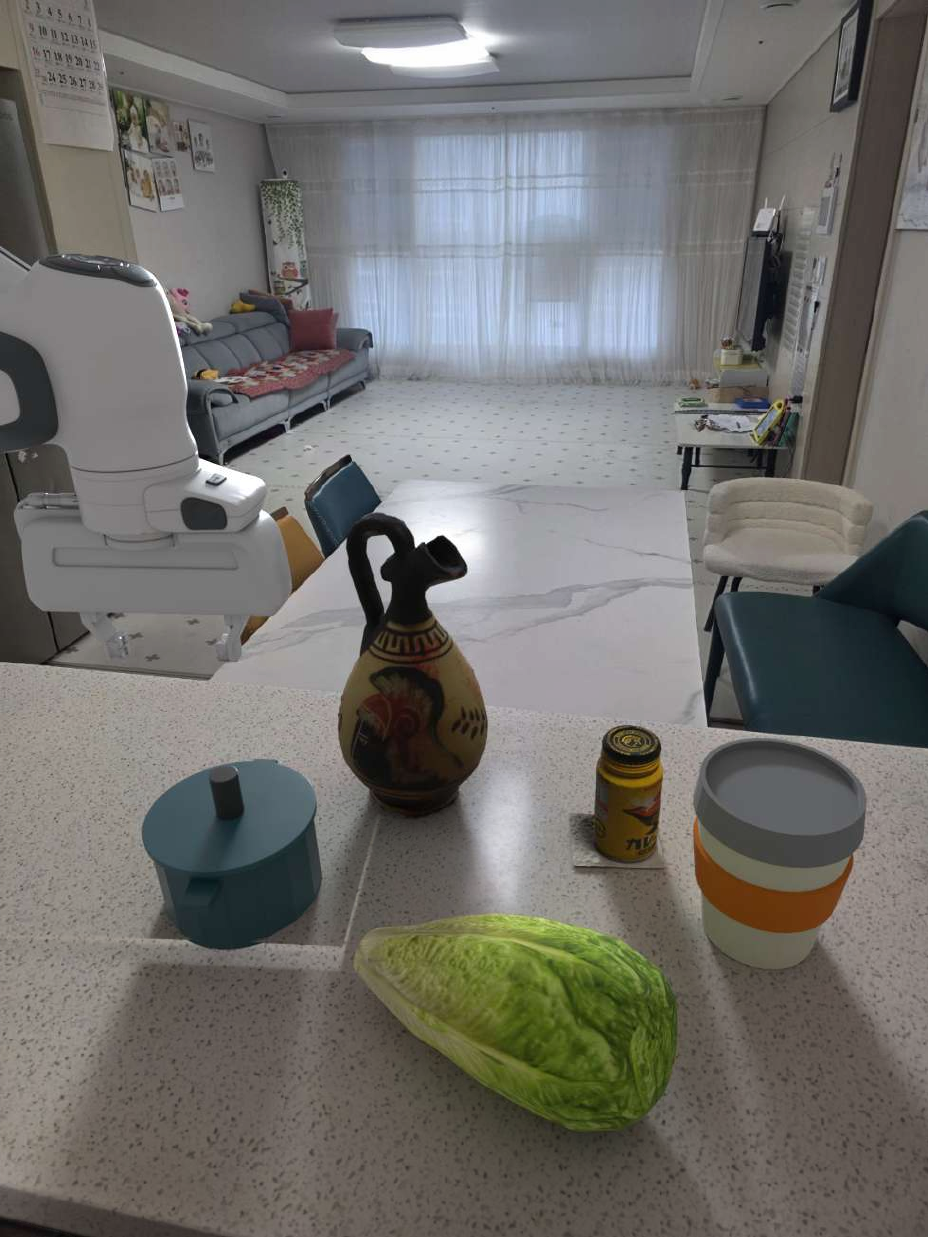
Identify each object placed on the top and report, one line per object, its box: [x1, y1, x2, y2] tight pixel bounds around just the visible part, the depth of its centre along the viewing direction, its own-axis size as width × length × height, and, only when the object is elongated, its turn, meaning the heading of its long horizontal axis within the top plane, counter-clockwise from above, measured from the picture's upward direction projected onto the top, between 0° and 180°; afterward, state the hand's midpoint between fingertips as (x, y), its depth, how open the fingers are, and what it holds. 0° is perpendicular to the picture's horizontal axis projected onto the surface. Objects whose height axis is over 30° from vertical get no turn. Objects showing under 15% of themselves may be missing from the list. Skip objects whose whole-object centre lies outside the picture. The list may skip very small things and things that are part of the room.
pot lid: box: [141, 760, 318, 877], centre depth 71 cm, size 15×15×5 cm
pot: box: [153, 758, 323, 950], centre depth 73 cm, size 14×19×8 cm
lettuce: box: [353, 913, 679, 1133], centre depth 59 cm, size 12×24×13 cm
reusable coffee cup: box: [692, 737, 868, 970], centre depth 66 cm, size 13×13×15 cm
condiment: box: [569, 724, 666, 869], centre depth 77 cm, size 7×8×12 cm
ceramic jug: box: [337, 511, 489, 819], centre depth 82 cm, size 17×15×30 cm
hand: (174, 657), depth 67 cm, fingers open, 8 cm apart
